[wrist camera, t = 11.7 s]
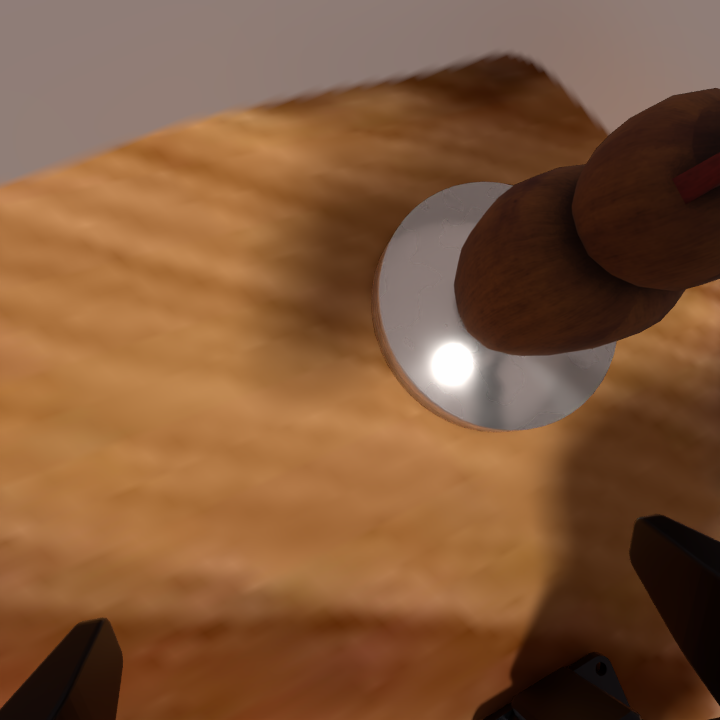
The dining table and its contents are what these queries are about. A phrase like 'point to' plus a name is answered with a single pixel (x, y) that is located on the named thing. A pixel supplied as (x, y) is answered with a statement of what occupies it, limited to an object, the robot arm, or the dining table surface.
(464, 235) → the plate
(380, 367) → the dining table surface
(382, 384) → the dining table surface
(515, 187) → the wooden figurine
